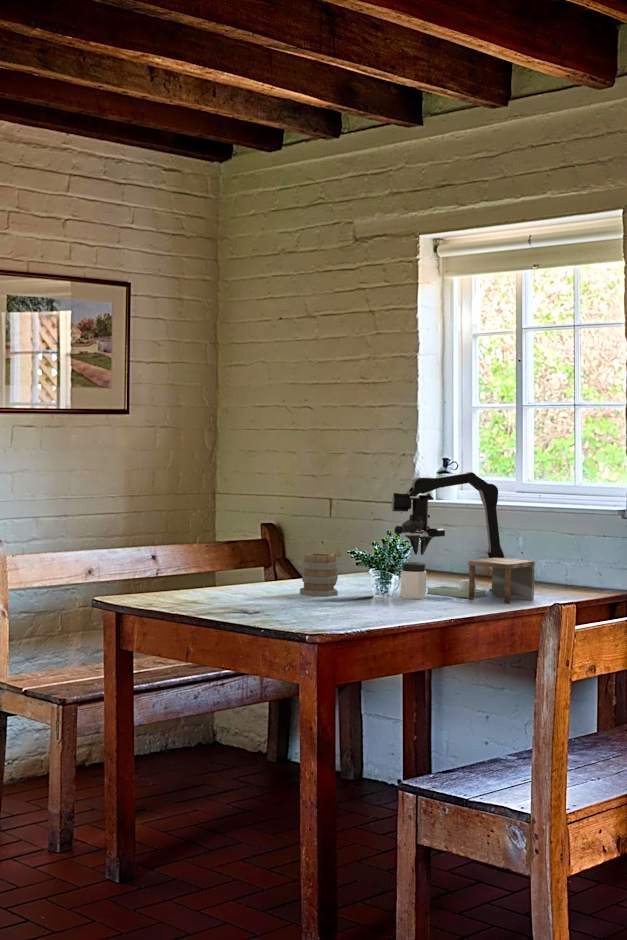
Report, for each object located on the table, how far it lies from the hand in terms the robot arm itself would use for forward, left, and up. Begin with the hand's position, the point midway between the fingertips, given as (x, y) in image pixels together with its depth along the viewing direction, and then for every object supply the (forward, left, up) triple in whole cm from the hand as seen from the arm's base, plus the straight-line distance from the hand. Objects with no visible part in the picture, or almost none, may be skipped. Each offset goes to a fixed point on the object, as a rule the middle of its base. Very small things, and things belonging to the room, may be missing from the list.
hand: (418, 554), depth 467 cm
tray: (0, +16, -13) cm, 21 cm away
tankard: (+33, -18, -13) cm, 40 cm away
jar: (+19, +10, -13) cm, 25 cm away
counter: (0, +34, -13) cm, 37 cm away
